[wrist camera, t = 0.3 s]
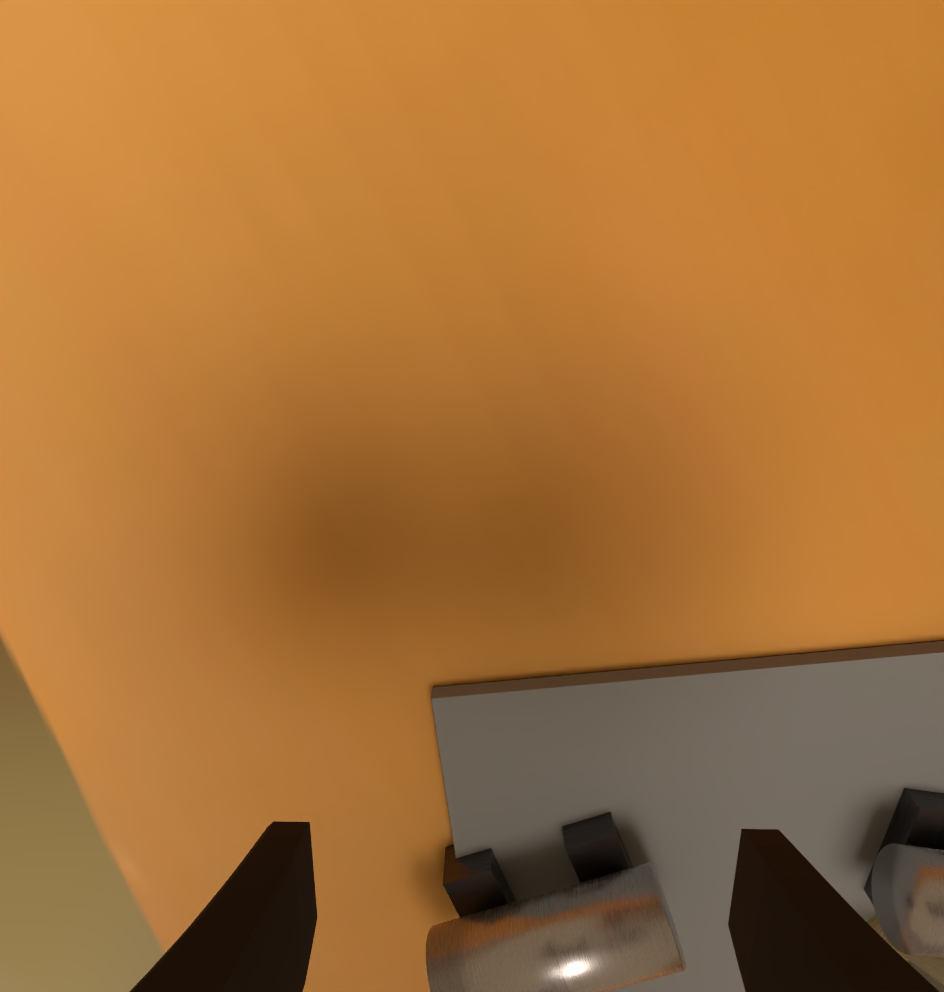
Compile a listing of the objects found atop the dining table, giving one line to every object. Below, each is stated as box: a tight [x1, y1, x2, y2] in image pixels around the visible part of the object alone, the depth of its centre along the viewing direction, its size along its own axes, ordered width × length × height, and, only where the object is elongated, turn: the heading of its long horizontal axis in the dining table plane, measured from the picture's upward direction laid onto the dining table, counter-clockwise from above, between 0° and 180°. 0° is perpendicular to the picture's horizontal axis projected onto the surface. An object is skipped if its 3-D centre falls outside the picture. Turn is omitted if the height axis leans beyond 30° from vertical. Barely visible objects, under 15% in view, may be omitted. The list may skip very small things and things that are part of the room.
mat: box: [431, 641, 944, 992], centre depth 24 cm, size 16×21×1 cm
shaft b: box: [426, 812, 686, 992], centre depth 23 cm, size 7×4×4 cm, turn 112°
